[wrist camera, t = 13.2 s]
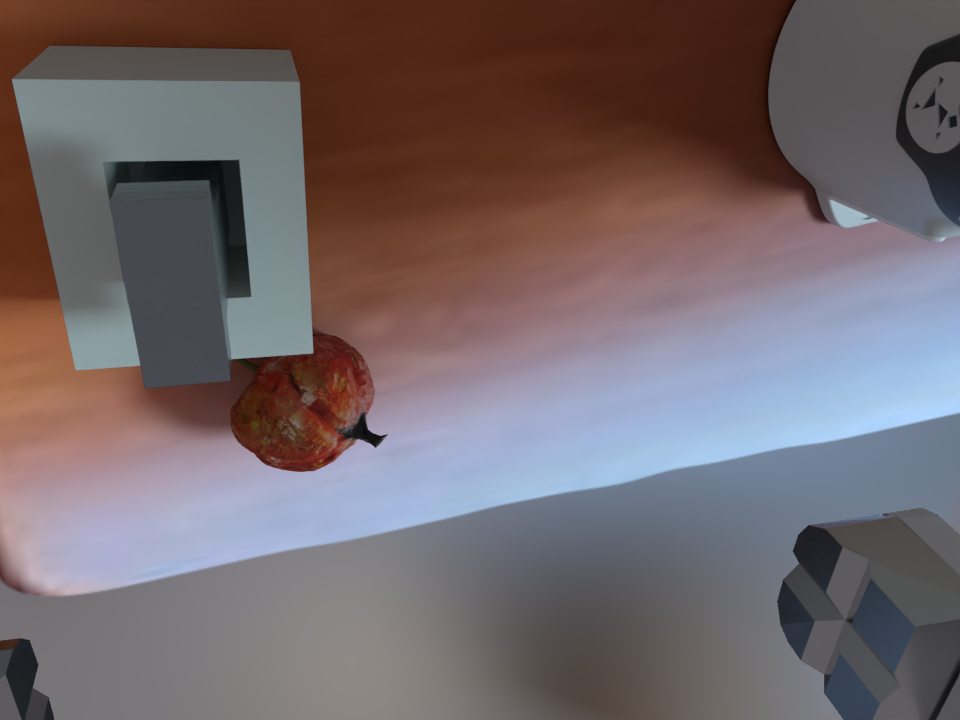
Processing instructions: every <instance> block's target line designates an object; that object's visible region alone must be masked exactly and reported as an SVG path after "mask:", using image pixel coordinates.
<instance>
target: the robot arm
mask: <svg viewBox="0 0 960 720" xmlns="http://www.w3.org/2000/svg"><path fill="white" fill-rule="evenodd" d="M768 103H769V114H770V120H771V125H772V129H773V132H774V136H775V138H776V141H777V143H778V145H779V147H780V149H781V151H782V153H783V154H784V156H785V158H786V159H787V160H788V162H789V163H790V164H791V165H792V166H793V167H794V168H795V169H796V170H797V171H798V172H799V173H800V174H801V175H802V176H804V177H805V178H806V179H807V180H808V181H809V182H810V183H811V184H812V186H813V187H814V188H815V190H816V194H817V197H818V201H819V204H820V207H821V209H822V212H823V214H824V216H825V218H826V219H827V220H828V221H829V222H830V223H832V224H834V225H837V226H840V227H842V228H852V227H856V226H860V225H864V224H868V223H872V222H876V221H882V222H884V223H886V224H889V225H891V226H893V227H896V228H898V229H901V230H903V231H905V232H908V233H910V234H913V235H915V236H917V237H920V238H922V239H925V240H928V241H933V242H942V241H943V240H944V239H945V238H946V237H956V236H960V0H796V2H795V4H794V5H793V7H792V9H791V11H790V13H789V15H788V17H787V19H786V21H785V24H784V26H783V28H782V31H781V34H780V36H779V39H778V42H777V45H776V48H775V52H774V56H773V60H772V65H771V70H770V78H769V89H768ZM793 552H794V555H795V556H796V558H797V560H798V562H799V564H798V565H797V566H796V567H795V568H794V569H793V570H792V571H791V572H790V573H789V574H788V575H787V577H785V578H784V579H783V582H782V586H781V589H780V593H779V597H778V600H777V603H778V610H779V617H780V625H781V627H782V629H783V632H784V634H785V636H786V639H787V641H788V643H789V644H790V645H791V647H792V648H793V650H794V651H795V653H796V654H797V656H798V657H799V659H800V660H801V661H803V662H804V663H806V664H808V665H810V666H811V667H813V668H814V669H816V670H818V671H819V672H821V673H823V674H824V693H825V695H826V696H827V697H828V699H829V700H830V701H831V703H832V704H833V706H834V707H835V708H836V710H837V711H838V713H839V714H840V715H841V717H842V718H843V719H844V720H960V534H958V533H957V532H956V531H955V530H954V529H953V528H952V527H951V526H949V525H948V524H947V523H946V522H945V521H944V520H943V519H942V518H941V517H939V516H938V515H937V514H935V513H933V512H930V511H928V510H926V509H923V508H918V509H911V510H905V511H898V512H892V513H885V514H882V515H871V516H865V517H858V518H852V519H845V520H839V521H832V522H826V523H819V524H813V525H808V526H807V527H806V528H805V529H804V530H803V531H802V532H801V533H800V534H799V535H798V537H797V540H796V543H795V546H794V549H793ZM37 668H38V662H37V660H36V657H35V654H34V651H33V648H32V646H31V643H30V640H27V639H22V638H19V639H11V640H2V641H0V720H54V715H53V711H52V708H51V704H50V701H49V697H47V696H45V695H44V694H42V693H40V692H39V691H37V690H35V689H33V685H34V681H35V677H36V673H37Z"/></svg>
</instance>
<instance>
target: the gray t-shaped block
mask: <svg viewBox="0 0 960 720" xmlns="http://www.w3.org/2000/svg"><path fill="white" fill-rule="evenodd" d="M109 204H110V209H111V214H112V220H113V225H114V230H115V235H116V241H117V246H118V251H119V256H120V262H121V267H122V272H123V277H124V283H125V288H126V293H127V298H128V303H129V309H130V314H131V319H132V324H133V330H134V335H135V340H136V345H137V351H138V356H139V361H140V366H141V372H142V377H143V382H144V387H145V388H157V387H168V386H179V385H190V384H201V383H213V382H224V381H231V348H230V340H229V332H228V324H227V302H228V264H229V219H228V210H227V201H226V193H225V184H224V175H223V167H222V160H192V161H146V162H145V165H144V168H143V171H142V174H141V177H140V180H139V182H138V183H117V185H116V187H115V190H114V192H113V195H112V197H111V200H110V202H109Z"/></svg>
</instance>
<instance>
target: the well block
mask: <svg viewBox="0 0 960 720" xmlns="http://www.w3.org/2000/svg"><path fill="white" fill-rule="evenodd" d="M12 82H13V87H14V92H15V96H16V101H17V105H18V110H19V114H20V119H21V123H22V128H23V133H24V137H25V142H26V146H27V151H28V155H29V160H30V164H31V169H32V174H33V178H34V183H35V187H36V192H37V196H38V201H39V205H40V210H41V215H42V219H43V224H44V228H45V233H46V237H47V242H48V246H49V251H50V256H51V260H52V265H53V269H54V274H55V278H56V283H57V287H58V292H59V296H60V301H61V306H62V310H63V315H64V319H65V324H66V328H67V333H68V337H69V342H70V347H71V351H72V356H73V360H74V365H75V369H76V370H87V369H101V368H115V367H130V366H140V361H139V356H138V351H137V345H136V340H135V335H134V330H133V324H132V319H131V314H130V309H129V303H128V298H127V293H126V288H125V283H124V277H123V272H122V267H121V262H120V256H119V251H118V246H117V241H116V235H115V230H114V225H113V220H112V214H111V209H110V204H109V202H110V200H111V197H112V195H113V192H114V190H115V187H116V185H117V183H138V182H139V180H140V177H141V174H142V171H143V168H144V165H145V162H146V161H192V160H222V167H223V175H224V184H225V193H226V201H227V210H228V219H229V264H228V302H227V324H228V332H229V340H230V348H231V359H242V358H256V357H270V356H284V355H298V354H312V353H313V336H312V316H311V296H310V276H309V256H308V236H307V216H306V196H305V176H304V156H303V136H302V116H301V96H300V81H299V78H298V74H297V71H296V68H295V64H294V61H293V58H292V54H291V51H290V50H267V49H212V48H157V47H102V46H49V47H48V48H47V49H46V50H44V51H43V52H42V53H41V54H40V55H39V56H38V57H36V58H35V59H34V60H33V61H32V62H31V63H30V64H29V65H27V66H26V67H25V68H24V69H23V70H22V71H21V72H19V73H18V74H17V75H16V76H15V77H14V78H13V79H12Z"/></svg>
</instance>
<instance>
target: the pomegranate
mask: <svg viewBox="0 0 960 720" xmlns="http://www.w3.org/2000/svg"><path fill="white" fill-rule="evenodd" d="M312 336H313V353H312V354H298V355H284V356H270V357H269V358H267V359H266V360H264V361H263V363H262V364H261V366H260V367H259V366H257V365H254V364H252V363H250V362H248V361H246V360H245V359H243V358H242V359H237V360H238V361H240V362H241V363H242V364H244V365H245V366H246V367H247V368H249V369H250V370H253V371H255V372H256V373H255V375H254V378H253V380H252V382H251V383H250V385H248V387H247V388H246V389H245V391H244V392H243V394H242V395H241V397H240V398H239V399H238V401H237V402H236V403H235V404H234V405H233V406H232V409H231V413H230V417H231V427H232V432H233V434H234V436H235V438H236V439H237V441H238V442H239V443H240V444H241V445H242V446H243V447H245V448H246V449H248V450H249V451H251V452H252V453H254V454H255V455H256V456H257V457H258V458H259V459H260V460H261V461H262V462H263V463H264V464H266V465H269V466H271V467H274V468H278V469H282V470H288V471H297V472H305V471H315V470H317V469H319V468H322V467H324V466H326V465H328V464H329V463H331V462H333V461H335V460H336V459H337V458H338V457H339V456H340V455H341V454H342V453H343V451H345V450H346V449H347V448H349V447H350V446H352V445H353V444H354V443H355V442H356V440H357V439H361V440H364V441H365V442H368V443H370V444H372V445H373V446H374V447H375V448H376V447H377V446H378V445H379V444H380V443H381V442H382V441H383V440H384V438H385V437H386V436H387V435H388V434H387V435H383V436H379V435H376V434H373V433H372V432H370V431H369V430H368V428H367V424H366V415H367V413H368V411H369V409H370V407H371V406H372V403H373V398H374V394H375V389H374V386H373V381H372V378H371V374H370V370H369V368H368V366H367V364H366V362H365V360H364V359H363V356H362V355H360V354H359V352H358V351H357V350H356V349H355V348H353V347H351V346H350V345H349V344H348V343H346V342H345V341H343V340H342V339H340V338H338V337H336V336H332V335H327V334H323V333H312Z"/></svg>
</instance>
